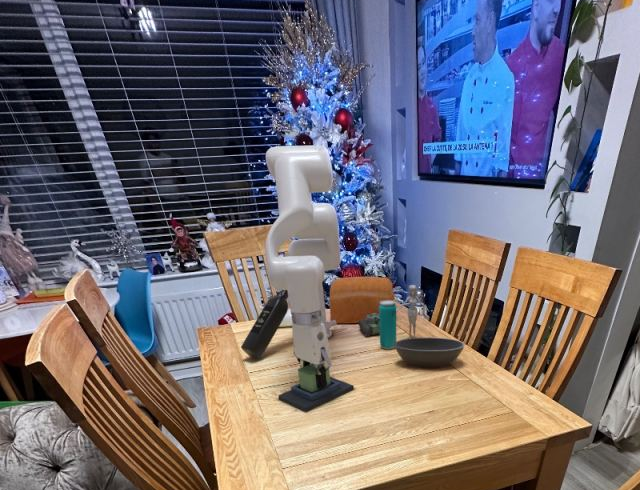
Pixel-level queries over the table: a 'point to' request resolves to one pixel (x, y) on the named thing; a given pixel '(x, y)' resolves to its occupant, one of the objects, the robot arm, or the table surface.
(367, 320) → the toy tank
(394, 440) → the table surface
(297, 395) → the black pad
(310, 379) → the green block
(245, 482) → the table surface
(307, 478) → the table surface
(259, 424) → the table surface
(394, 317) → the beverage can
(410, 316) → the human figurine
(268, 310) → the wine bottle
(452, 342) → the bowl
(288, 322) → the earbud case
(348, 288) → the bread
